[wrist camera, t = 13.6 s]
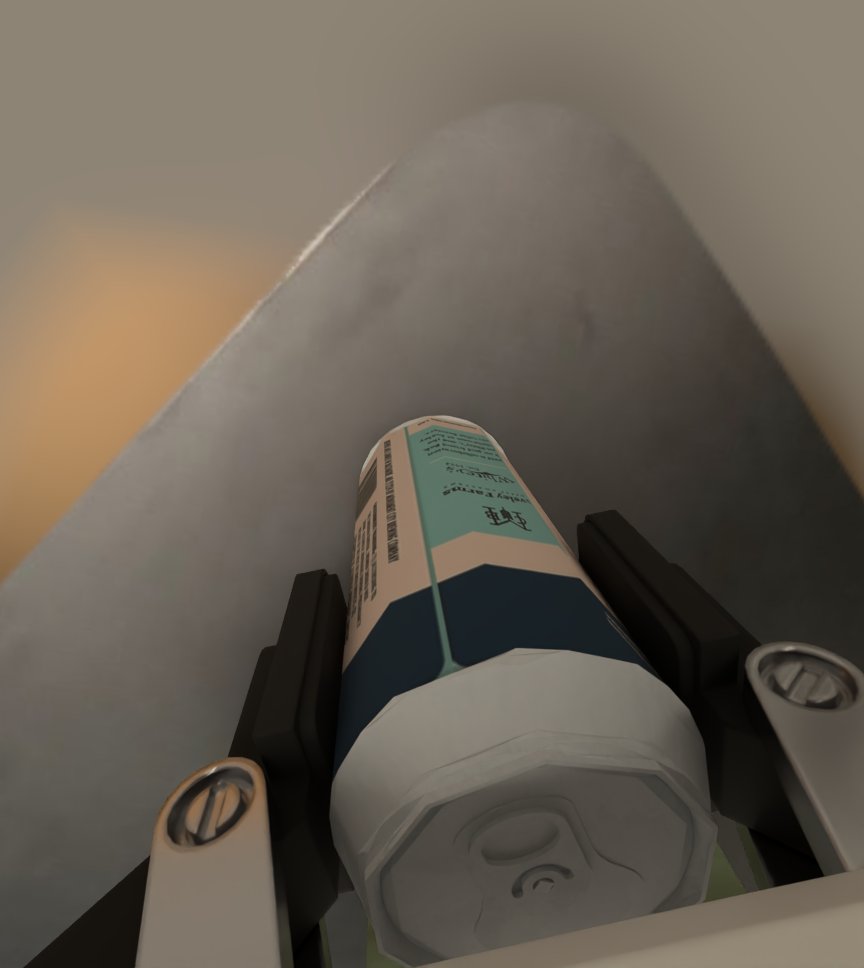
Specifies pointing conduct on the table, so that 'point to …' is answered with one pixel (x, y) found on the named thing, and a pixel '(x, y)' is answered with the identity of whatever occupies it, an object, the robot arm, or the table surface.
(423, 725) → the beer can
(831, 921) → the robot arm
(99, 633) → the table surface
